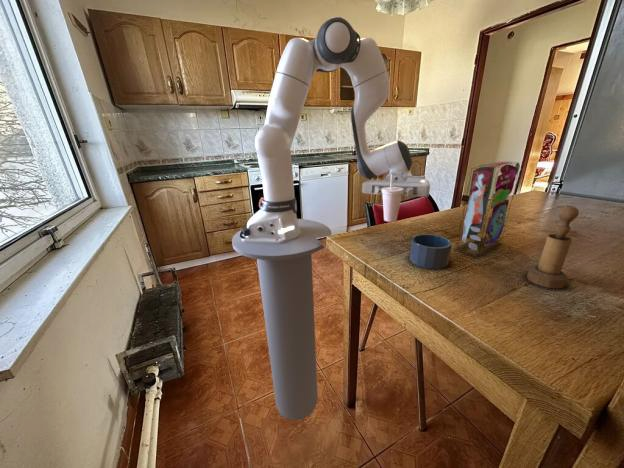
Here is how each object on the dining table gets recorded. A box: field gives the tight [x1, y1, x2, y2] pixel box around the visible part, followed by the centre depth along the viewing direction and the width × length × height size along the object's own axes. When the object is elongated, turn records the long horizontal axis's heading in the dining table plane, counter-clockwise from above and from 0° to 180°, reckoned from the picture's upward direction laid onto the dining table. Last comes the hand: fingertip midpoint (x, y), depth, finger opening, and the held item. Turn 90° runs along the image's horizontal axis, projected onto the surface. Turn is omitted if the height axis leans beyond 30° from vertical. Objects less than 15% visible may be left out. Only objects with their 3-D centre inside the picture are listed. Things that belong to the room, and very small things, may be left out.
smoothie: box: [381, 174, 404, 223], centre depth 76 cm, size 6×6×14 cm
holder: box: [409, 233, 453, 270], centre depth 70 cm, size 10×10×6 cm
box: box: [456, 161, 521, 258], centre depth 76 cm, size 25×6×24 cm, turn 125°
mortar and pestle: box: [526, 205, 580, 290], centre depth 56 cm, size 7×6×18 cm
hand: (392, 193), depth 75 cm, fingers closed on smoothie, 6 cm apart
